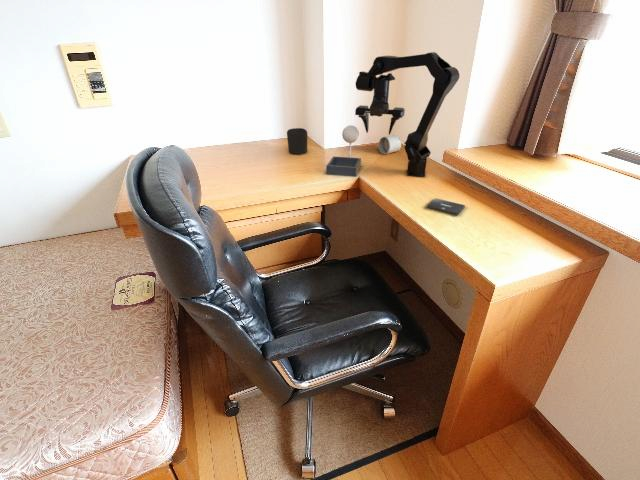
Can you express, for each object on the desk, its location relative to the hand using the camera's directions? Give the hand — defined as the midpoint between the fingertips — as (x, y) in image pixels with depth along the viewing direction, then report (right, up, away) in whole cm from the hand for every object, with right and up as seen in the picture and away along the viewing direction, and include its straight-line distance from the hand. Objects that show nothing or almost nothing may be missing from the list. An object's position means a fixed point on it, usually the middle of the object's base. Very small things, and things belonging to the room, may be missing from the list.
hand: (378, 133), depth 143 cm
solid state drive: (+17, -33, -30) cm, 48 cm away
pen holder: (-34, -2, +23) cm, 41 cm away
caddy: (-14, -15, +1) cm, 20 cm away
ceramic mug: (+8, -2, +21) cm, 23 cm away
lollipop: (-11, -9, +12) cm, 18 cm away
